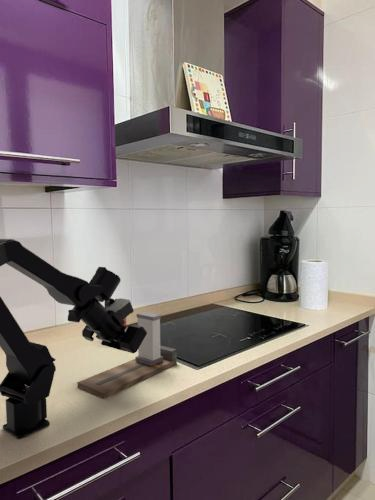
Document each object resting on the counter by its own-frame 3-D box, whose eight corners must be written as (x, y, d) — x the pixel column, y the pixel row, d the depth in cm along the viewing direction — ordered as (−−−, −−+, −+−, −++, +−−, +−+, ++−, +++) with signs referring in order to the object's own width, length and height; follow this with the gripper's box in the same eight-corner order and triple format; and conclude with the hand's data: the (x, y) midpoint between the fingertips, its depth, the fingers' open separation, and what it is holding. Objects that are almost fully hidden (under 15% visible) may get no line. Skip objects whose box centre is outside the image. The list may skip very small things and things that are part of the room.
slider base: (104, 398, 85) (103, 380, 85) (77, 387, 91) (77, 370, 91) (176, 363, 106) (176, 349, 105) (150, 356, 112) (150, 342, 111)
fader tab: (151, 366, 100) (150, 317, 99) (134, 361, 104) (133, 314, 103) (164, 360, 104) (163, 314, 103) (147, 355, 108) (146, 311, 107)
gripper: (141, 293, 87) (171, 330, 97) (90, 286, 99) (122, 319, 108) (115, 334, 81) (150, 369, 91) (65, 321, 93) (101, 353, 102)
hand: (130, 350), depth 98 cm, fingers closed
